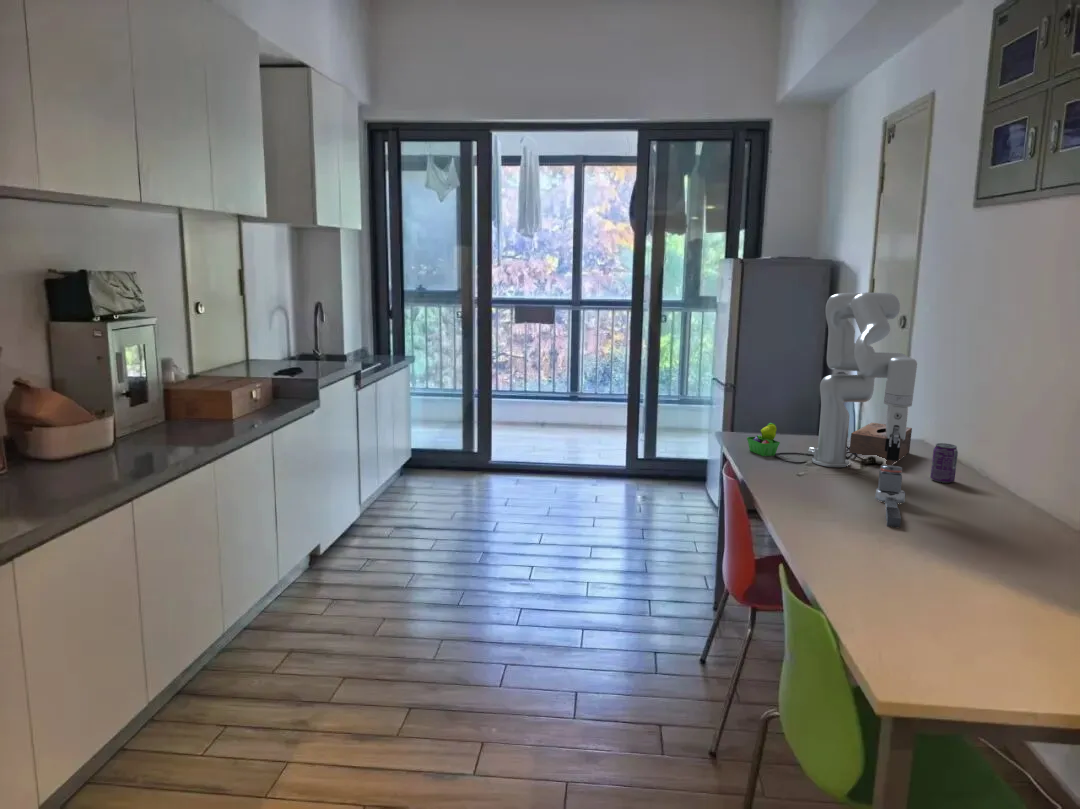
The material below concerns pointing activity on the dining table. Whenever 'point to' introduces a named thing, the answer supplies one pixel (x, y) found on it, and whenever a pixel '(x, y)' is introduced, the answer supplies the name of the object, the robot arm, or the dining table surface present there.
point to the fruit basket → (764, 441)
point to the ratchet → (891, 505)
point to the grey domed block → (890, 478)
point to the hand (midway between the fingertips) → (891, 455)
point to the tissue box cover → (876, 441)
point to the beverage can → (944, 463)
